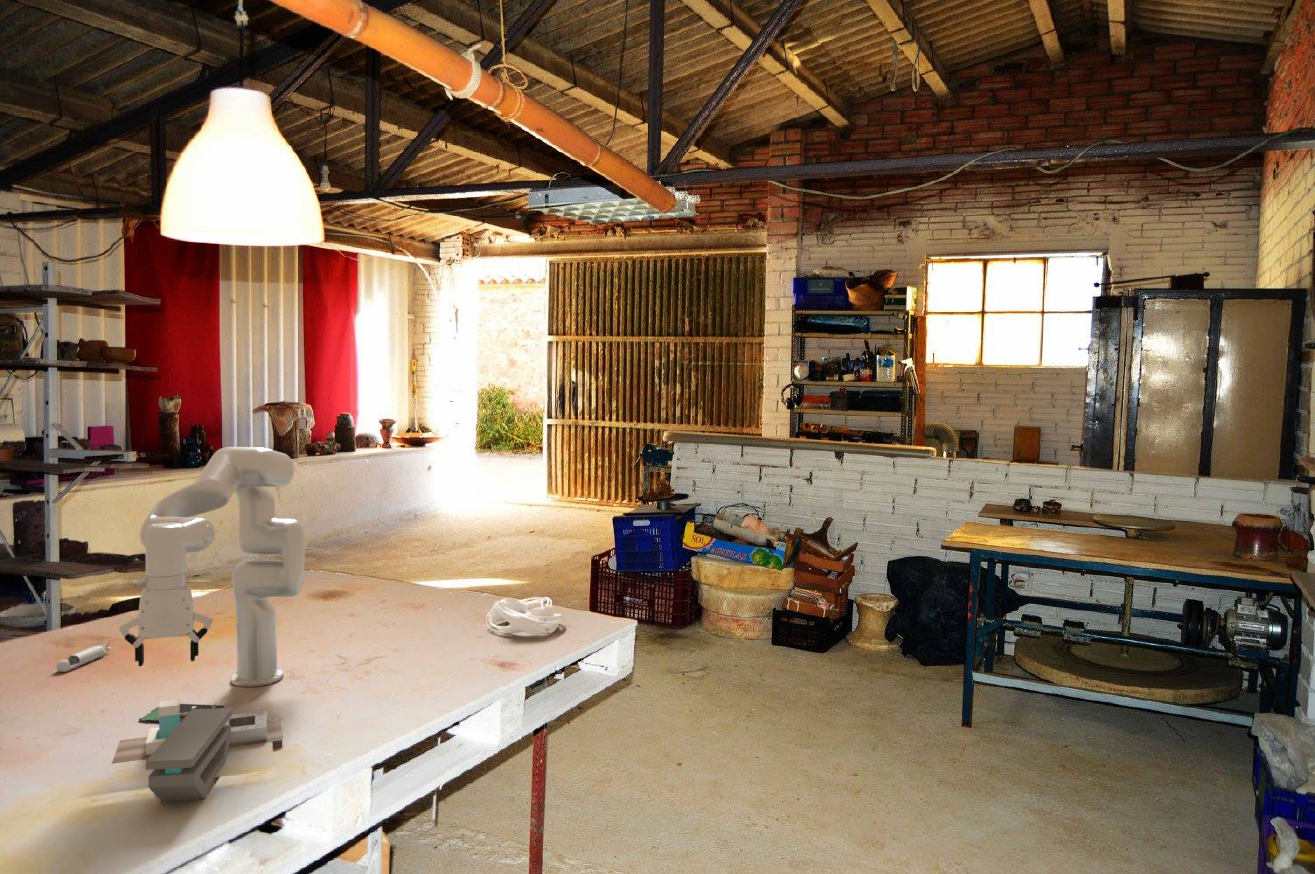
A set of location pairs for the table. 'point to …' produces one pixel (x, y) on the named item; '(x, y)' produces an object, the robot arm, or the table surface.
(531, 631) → the coil
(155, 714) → the disk drive
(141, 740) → the board
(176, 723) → the plug
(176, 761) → the grey slotted long block
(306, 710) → the table surface
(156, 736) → the cream square frame
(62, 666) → the torpedo
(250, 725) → the port
